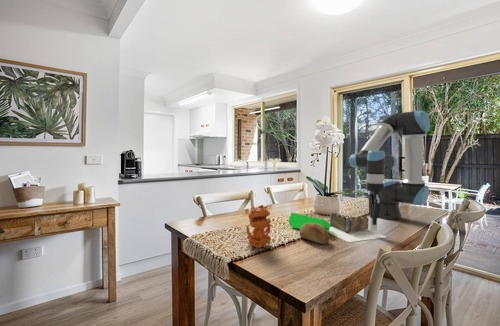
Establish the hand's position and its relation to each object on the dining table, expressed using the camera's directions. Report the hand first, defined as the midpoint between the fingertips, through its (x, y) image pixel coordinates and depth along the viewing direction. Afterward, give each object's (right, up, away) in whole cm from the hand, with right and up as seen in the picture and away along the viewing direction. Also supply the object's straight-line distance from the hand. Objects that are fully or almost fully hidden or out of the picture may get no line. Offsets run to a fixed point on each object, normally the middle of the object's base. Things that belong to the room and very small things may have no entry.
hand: (373, 230), depth 124 cm
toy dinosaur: (-56, -2, -16) cm, 58 cm away
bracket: (-29, -2, +9) cm, 30 cm away
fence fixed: (-13, -2, +10) cm, 17 cm away
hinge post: (-11, -2, +4) cm, 12 cm away
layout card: (-9, -2, +5) cm, 11 cm away
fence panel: (-4, -1, +7) cm, 8 cm away
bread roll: (-31, -3, -8) cm, 32 cm away
